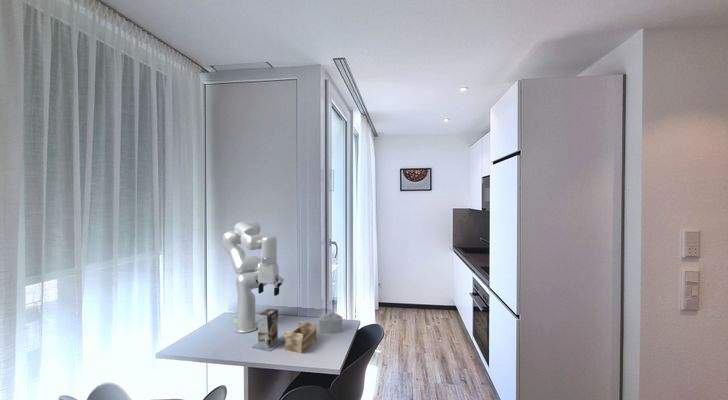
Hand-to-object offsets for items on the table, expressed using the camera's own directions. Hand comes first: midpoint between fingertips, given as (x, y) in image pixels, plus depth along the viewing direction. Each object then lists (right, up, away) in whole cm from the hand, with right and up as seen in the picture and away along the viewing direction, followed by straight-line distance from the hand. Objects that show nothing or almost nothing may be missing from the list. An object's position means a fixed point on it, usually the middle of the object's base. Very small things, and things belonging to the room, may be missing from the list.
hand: (268, 293), depth 152 cm
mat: (0, -26, 0) cm, 26 cm away
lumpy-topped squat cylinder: (+30, -26, +17) cm, 44 cm away
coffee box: (0, -26, 0) cm, 26 cm away
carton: (+17, -26, -1) cm, 31 cm away
